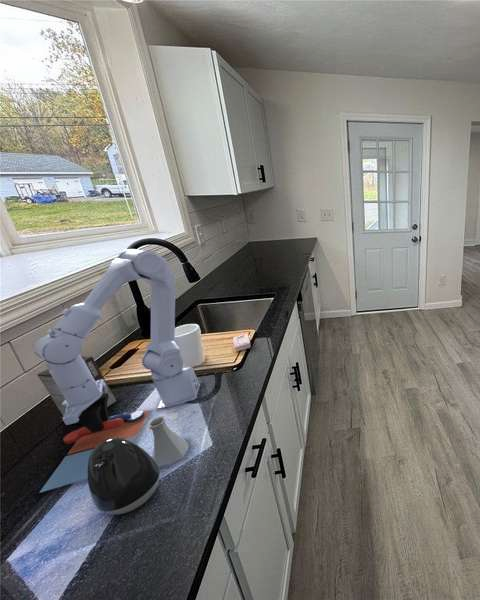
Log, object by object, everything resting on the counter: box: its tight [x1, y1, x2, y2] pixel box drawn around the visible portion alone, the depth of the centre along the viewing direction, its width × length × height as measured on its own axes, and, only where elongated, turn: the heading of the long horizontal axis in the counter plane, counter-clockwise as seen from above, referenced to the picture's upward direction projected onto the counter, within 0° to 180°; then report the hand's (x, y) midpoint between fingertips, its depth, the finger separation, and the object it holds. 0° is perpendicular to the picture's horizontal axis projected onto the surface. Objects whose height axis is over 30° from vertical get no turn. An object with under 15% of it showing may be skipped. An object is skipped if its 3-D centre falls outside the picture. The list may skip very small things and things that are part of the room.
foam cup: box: [174, 323, 206, 368], centre depth 108 cm, size 10×9×13 cm
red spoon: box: [62, 418, 124, 445], centre depth 77 cm, size 12×4×2 cm, turn 112°
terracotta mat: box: [66, 410, 150, 456], centre depth 82 cm, size 14×10×1 cm
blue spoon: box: [108, 410, 144, 422], centre depth 84 cm, size 12×4×2 cm, turn 112°
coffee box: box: [36, 355, 117, 417], centre depth 86 cm, size 9×6×16 cm
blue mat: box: [38, 436, 137, 494], centre depth 72 cm, size 14×10×1 cm
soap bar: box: [232, 333, 252, 352], centre depth 120 cm, size 5×9×2 cm, turn 29°
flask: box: [147, 416, 190, 468], centre depth 72 cm, size 7×7×10 cm
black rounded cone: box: [87, 437, 161, 515], centre depth 61 cm, size 10×10×15 cm
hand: (100, 426), depth 78 cm, fingers closed on red spoon, 2 cm apart
